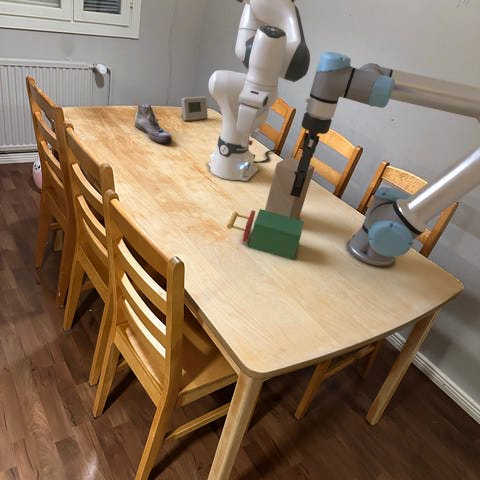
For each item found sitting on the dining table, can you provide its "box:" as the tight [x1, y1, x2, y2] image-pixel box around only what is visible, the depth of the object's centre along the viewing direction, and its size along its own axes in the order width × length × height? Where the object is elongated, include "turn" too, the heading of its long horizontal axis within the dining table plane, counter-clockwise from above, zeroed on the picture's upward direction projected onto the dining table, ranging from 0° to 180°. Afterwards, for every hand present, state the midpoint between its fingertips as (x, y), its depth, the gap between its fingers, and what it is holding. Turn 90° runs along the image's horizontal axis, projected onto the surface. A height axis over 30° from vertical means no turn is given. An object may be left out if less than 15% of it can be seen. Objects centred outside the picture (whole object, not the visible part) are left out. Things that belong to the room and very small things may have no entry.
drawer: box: [226, 210, 256, 243], centre depth 138 cm, size 19×9×7 cm, turn 78°
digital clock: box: [180, 95, 209, 122], centre depth 224 cm, size 16×9×11 cm, turn 123°
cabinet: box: [248, 208, 304, 260], centre depth 137 cm, size 14×10×9 cm
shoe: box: [134, 102, 172, 145], centre depth 194 cm, size 25×11×12 cm, turn 30°
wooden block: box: [264, 156, 315, 219], centre depth 151 cm, size 10×10×20 cm
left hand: (249, 141), depth 126 cm, fingers open, 8 cm apart
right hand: (297, 186), depth 128 cm, fingers open, 13 cm apart
